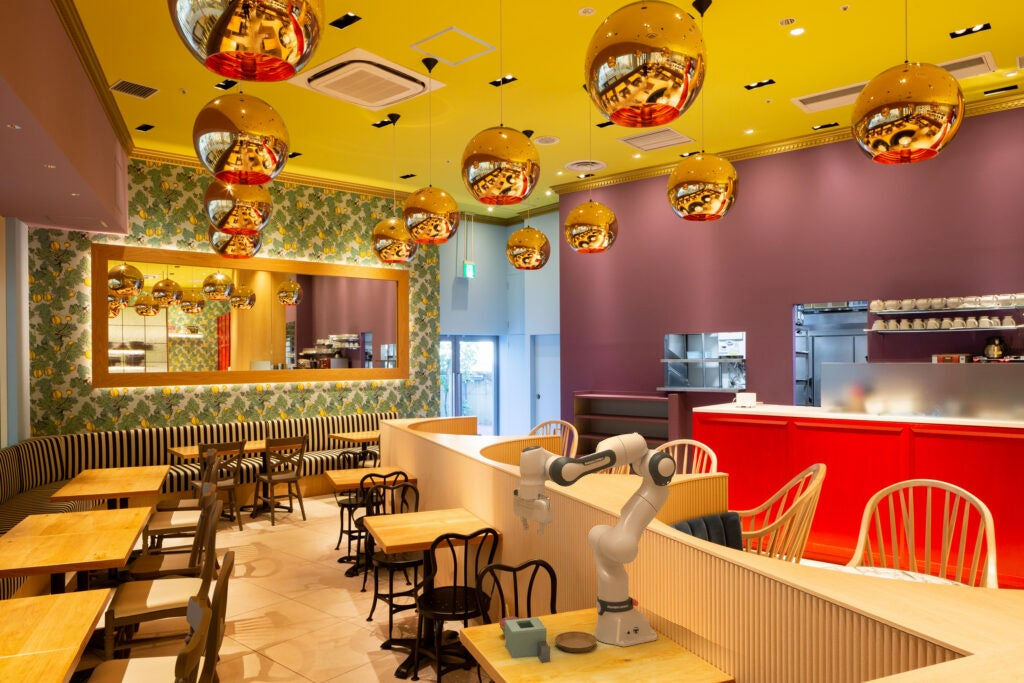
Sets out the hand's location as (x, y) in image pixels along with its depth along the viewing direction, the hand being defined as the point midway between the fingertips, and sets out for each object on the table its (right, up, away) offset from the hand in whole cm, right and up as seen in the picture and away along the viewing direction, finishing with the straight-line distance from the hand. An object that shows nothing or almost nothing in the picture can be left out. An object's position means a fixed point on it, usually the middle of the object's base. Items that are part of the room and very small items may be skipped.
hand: (533, 532), depth 236 cm
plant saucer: (+15, -40, 0) cm, 43 cm away
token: (+3, -40, -11) cm, 41 cm away
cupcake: (-8, -41, +9) cm, 43 cm away
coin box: (-3, -40, -4) cm, 40 cm away
